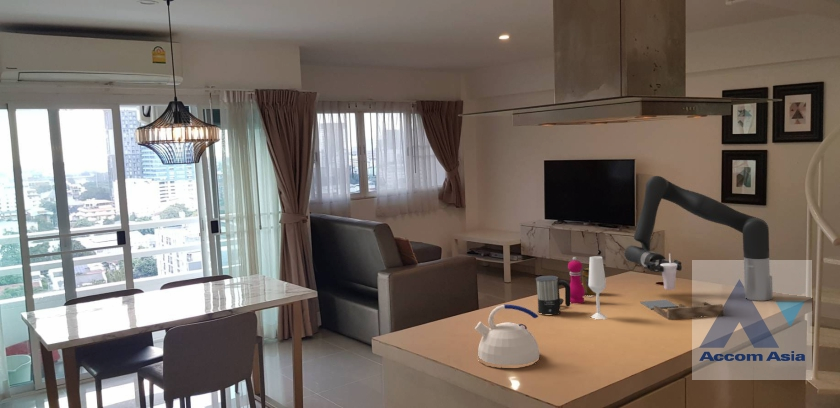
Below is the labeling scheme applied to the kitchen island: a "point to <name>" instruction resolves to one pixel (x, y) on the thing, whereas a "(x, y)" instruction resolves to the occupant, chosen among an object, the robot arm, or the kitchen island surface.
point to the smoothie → (669, 274)
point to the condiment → (585, 283)
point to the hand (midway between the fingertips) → (671, 268)
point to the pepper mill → (576, 282)
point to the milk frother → (551, 294)
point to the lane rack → (690, 311)
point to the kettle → (507, 341)
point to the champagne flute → (597, 281)
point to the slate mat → (659, 304)
